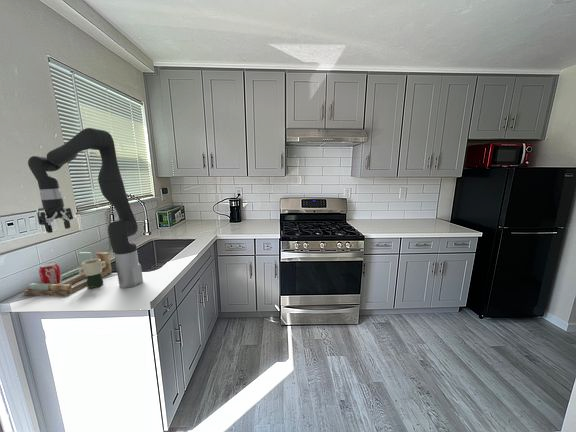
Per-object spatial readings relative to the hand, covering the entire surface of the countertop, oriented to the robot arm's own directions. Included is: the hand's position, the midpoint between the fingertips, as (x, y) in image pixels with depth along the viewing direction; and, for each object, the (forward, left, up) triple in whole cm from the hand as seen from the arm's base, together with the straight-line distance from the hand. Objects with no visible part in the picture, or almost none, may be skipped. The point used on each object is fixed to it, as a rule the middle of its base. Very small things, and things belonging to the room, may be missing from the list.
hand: (59, 230), depth 118 cm
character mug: (-19, +4, -27) cm, 34 cm away
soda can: (+1, +7, -27) cm, 28 cm away
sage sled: (+1, +1, -27) cm, 27 cm away
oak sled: (-10, +1, -27) cm, 29 cm away
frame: (-4, +3, -27) cm, 28 cm away
